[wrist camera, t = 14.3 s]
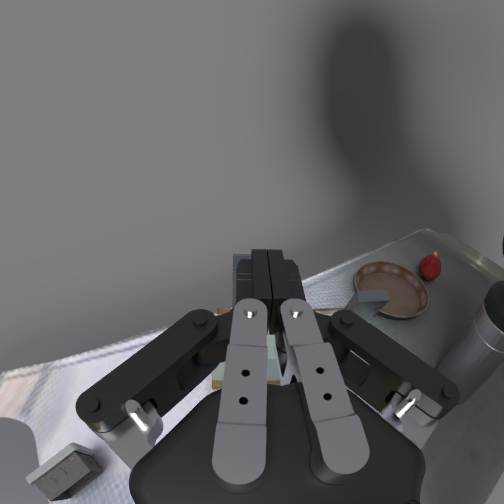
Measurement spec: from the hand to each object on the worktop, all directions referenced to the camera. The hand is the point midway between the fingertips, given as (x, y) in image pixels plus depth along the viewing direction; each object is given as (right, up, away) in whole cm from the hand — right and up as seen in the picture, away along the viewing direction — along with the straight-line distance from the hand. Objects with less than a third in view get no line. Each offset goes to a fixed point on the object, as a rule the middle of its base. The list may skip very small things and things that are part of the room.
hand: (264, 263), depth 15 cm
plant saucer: (+29, -9, +43) cm, 52 cm away
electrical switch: (-23, -30, +9) cm, 39 cm away
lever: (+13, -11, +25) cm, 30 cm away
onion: (+42, -6, +47) cm, 63 cm away
